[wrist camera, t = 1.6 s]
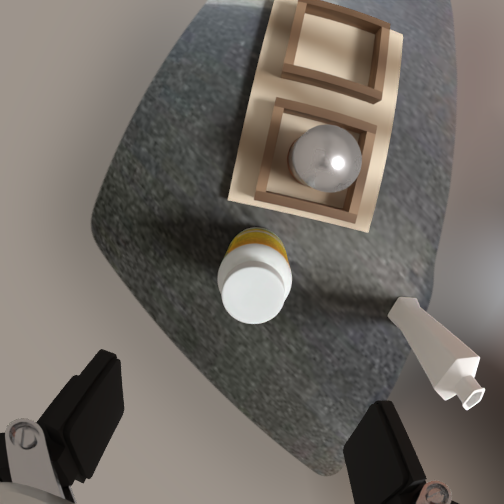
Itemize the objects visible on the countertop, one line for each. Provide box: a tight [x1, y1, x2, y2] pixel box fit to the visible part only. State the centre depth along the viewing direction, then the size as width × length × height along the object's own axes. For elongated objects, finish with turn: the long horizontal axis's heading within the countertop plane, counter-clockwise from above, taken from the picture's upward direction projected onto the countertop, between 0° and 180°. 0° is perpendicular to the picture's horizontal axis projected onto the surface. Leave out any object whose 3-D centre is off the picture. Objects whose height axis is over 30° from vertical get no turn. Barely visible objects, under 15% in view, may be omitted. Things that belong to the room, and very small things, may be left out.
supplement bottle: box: [218, 227, 292, 324], centre depth 23 cm, size 5×5×10 cm
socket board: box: [228, 0, 403, 233], centre depth 22 cm, size 21×13×3 cm, turn 168°
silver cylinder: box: [287, 124, 362, 193], centre depth 21 cm, size 5×5×6 cm
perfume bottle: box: [388, 297, 485, 410], centre depth 21 cm, size 5×4×15 cm
